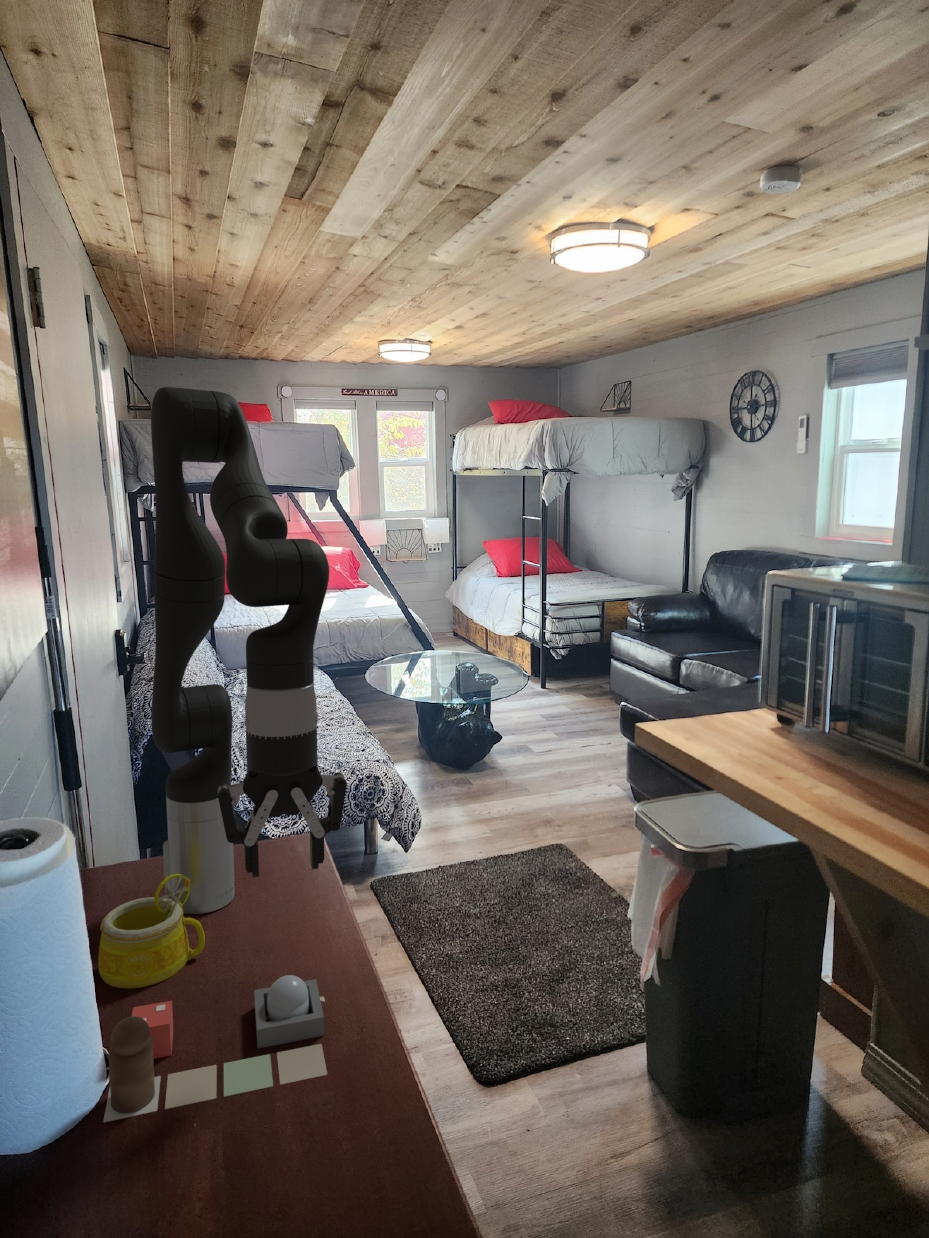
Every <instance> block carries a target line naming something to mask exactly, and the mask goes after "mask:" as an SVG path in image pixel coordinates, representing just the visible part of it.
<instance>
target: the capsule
mask: <svg viewBox="0 0 929 1238" xmlns="http://www.w3.org/2000/svg"><path fill="white" fill-rule="evenodd" d="M304 981H305V980H303V979H302V978H300V977H298V976H296V975H292V974H287V975H284V976H281V977H279V978H277V979H276V980H275V981H274V982H273V983H272V985H271V986H270V989H269V992H268V996H267V1010H268V1011H267V1022H269V1021H275V1020H280V1019H285V1018H291V1017H296V1016H302V1015H307V1014H310V1006H309V996H308V989H307V986H306V984H305V983H304Z"/></svg>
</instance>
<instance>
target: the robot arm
mask: <svg viewBox="0 0 929 1238" xmlns="http://www.w3.org/2000/svg"><path fill="white" fill-rule="evenodd" d="M150 411H151V412H150V429H151V430H150V431H151V433H150V434H151V435H150V436H151V448H152V464H153V465H152V467H153V479H154V497H155V499H154V500H155V531H154V533H155V534H154V535H155V538H154V539H155V540H154V542H155V544H154V562H153V563H154V564H153V565H154V566H153V567H154V571H153V582H154V583H153V586H154V588H153V591H154V593H153V595H154V596H153V597H154V623H155V624H154V625H155V628H154V629H155V655H154V669H153V681H152V682H153V683H152V684H153V685H152V695H151V713H150V720H151V721H150V723H151V735H152V739H153V742H154V744H155V746H156V748H157V749H158V750H159V751H160V752H162V753H166V754H168V753H171V754H172V753H179V752H185V751H186V752H187V751H188V752H189V751H193V750H200V749H201V750H200V752H198V754H197V755H196V756H194V758H192V759H191V760H190V761H188V762H186V763H185V764H183V765H180V766H179V767H177V768H176V769H174V770H173V771H171V772H170V773H169V774H168V776H167V777H166V779H165V796H166V797H165V799H166V801H165V802H166V818H167V820H166V821H167V837H168V838H167V840H165V841H164V843H163V844H162V853H163V855H162V856H163V873H164V874H163V875H164V880H165V879H166V878H167V877H168V876H170V875H172V874H181V875H183V876H185V877H186V878H187V879H190V893H189V896H188V898H187V900H186V902H185V903H184V905H183V906H182V909H183V914H187V915H188V914H189V915H198V914H199V915H200V914H207V913H211V912H214V911H217V910H219V909H223V908H224V907H226V906H227V905H229V904H230V903H231V902H232V901H233V899H234V898H235V894H236V893H235V863H234V862H235V861H234V859H235V857H234V843H240V844H242V845H243V846H244V865H245V866H244V869H245V870H246V872H247V874H250V873H251V875H252V878H259V877H260V868H259V867H260V865H259V864H260V863H259V857H260V856H259V842H258V838H259V835H260V833H261V831H262V829H264V827H265V824H266V822H267V820H268V818H271V819H272V818H278V817H281V816H283V815H287V816H298V815H300V813H301V815H302V817H303V819H304V820H305V823H306V824H307V826H308V827H309V829H310V831H309V852H310V853H309V859H310V861H309V862H310V866H311V870H318V869H319V868H320V865H319V864H323V863H324V860H325V836H326V835H327V834H328V833H329V832H332V831H334V832H335V831H336V832H337V831H338V830H340V828H341V827H342V826H341V825H342V820H343V819H342V818H343V812H344V804H345V799H346V793H347V786H348V783H347V781H346V779H345V776H344V774H343V773H342V772H340V771H339V772H335V773H334V774H333V775H332V774H322V773H321V771H320V770H319V766H318V765H319V764H318V720H319V719H318V718H319V715H318V712H317V711H318V710H317V697H316V692H315V675H314V674H315V669H314V645H315V644H314V643H315V638H316V635H317V629H318V625H319V620H320V615H321V612H322V608H323V605H324V602H325V598H326V594H327V591H328V585H329V582H330V581H329V580H330V564H329V562H328V558H327V555H326V553H325V551H324V549H323V548H322V546H321V545H320V544H319V543H317V541H314V540H313V539H309V538H287V537H288V533H289V532H288V523H287V520H286V517H285V515H284V512H283V511H282V509H281V507H280V505H279V504H278V502H277V501H276V498H275V497H274V495H273V493H272V492H271V489H270V488H269V486H268V485H267V482H266V480H265V478H264V476H263V473H262V470H261V466H260V462H259V459H258V455H257V452H256V448H255V444H254V441H253V438H252V435H251V431H250V429H249V425H248V422H247V419H246V416H245V414H244V411H243V408H242V407H241V405H240V403H239V402H238V401H237V399H236V398H235V397H233V396H232V395H231V394H229V393H226V392H222V391H217V390H206V389H195V388H194V389H193V388H184V387H174V386H173V387H172V386H163V387H160V388H158V389H157V391H155V393H154V396H153V399H152V404H151V410H150ZM183 462H184V463H186V462H188V463H209V464H219V463H224V465H223V466H222V468H221V469H220V470H219V472H218V473H217V475H216V476H215V478H214V480H213V482H212V484H211V488H210V492H209V502H210V503H209V504H210V508H211V513H212V516H213V517H214V520H215V521H216V523H217V525H218V527H219V530H220V532H221V535H222V537H223V539H224V544H225V551H226V560H225V556H224V553H223V551H222V549H221V547H220V544H219V543H218V542H217V540H216V538H215V537H214V535H213V534H212V532H211V531H210V529H209V527H208V526H207V525H206V524H205V522H204V520H203V519H202V518H201V516H200V514H199V512H198V511H197V509H196V508H195V507H196V506H195V505H194V503H193V501H192V499H191V498H190V495H189V492H188V489H187V486H186V483H185V482H186V481H185V477H184V470H183ZM225 586H227V589H228V591H229V593H230V595H231V596H232V598H233V599H235V601H237V602H238V603H240V604H242V605H243V606H245V607H250V608H263V607H280V606H287V609H286V612H285V614H284V616H283V617H282V618H281V620H279V621H277V622H276V623H272V624H271V625H270V624H269V625H267V626H264V627H260V628H259V629H256V630H254V631H252V632H250V634H249V635H248V636H247V637H246V641H245V642H246V643H245V660H246V662H245V664H246V695H245V706H244V707H245V708H244V711H245V712H244V713H245V714H244V717H245V719H244V724H245V746H246V748H245V749H246V751H245V752H246V773H245V776H244V779H243V781H242V782H238V783H232V771H233V770H232V767H233V766H232V764H233V763H232V760H233V759H232V745H233V744H232V743H233V741H232V740H233V709H232V708H233V707H232V701H231V698H230V695H229V693H228V691H227V689H226V688H225V687H224V686H223V685H221V684H215V683H214V684H212V683H211V684H203V685H193V686H186V687H184V686H183V687H182V685H183V680H184V676H185V672H186V670H187V667H188V664H189V663H190V661H191V658H192V656H193V654H194V653H195V652H196V650H197V648H199V645H201V643H202V642H203V641H204V639H205V638H206V636H207V635H208V634H209V632H210V631H211V629H212V628H213V626H214V624H215V623H216V622H217V620H218V618H219V616H220V614H221V613H222V610H223V608H224V605H225V604H224V603H225V595H226V592H225V591H226V590H225V589H226V588H225ZM322 786H323V787H325V791H326V794H327V795H328V796H329V801H328V808H327V816H325V817H323V818H321V819H320V817H319V814H318V813H317V811H316V810H315V807H314V805H313V803H312V800H313V799H314V797H315V795H316V794H317V793H318V791H319V790H320V788H321V787H322ZM243 794H244V795H245V796H246V797H247V798H248V799H249V800H250V801H251V802H252V803H253V804H254V805H253V807H252V810H251V812H250V816H249V819H248V821H247V823H246V824H245V825H246V826H245V827H244V826H239V825H238V822H237V818H236V812H235V806H237V805H238V804H239V802H240V796H241V795H243ZM176 880H177V877H174V878H172V879H170V880H169V881H168V884H169V886H170V888H171V890H172V892H174V893H176V894H175V896H176V897H177V898H178V896H179V894H180V893H177V892H175V889H176V886H177V884H176V886H175V888H174V885H175V883H176ZM178 881H179V880H178ZM184 881H185V880H184V879H183V878H182V879H181V881H180V883H179V885H178V887H177V889H176V891H177V890H179V889H181V888H183V886H184ZM177 883H178V882H177ZM173 888H174V890H173ZM178 892H179V891H178ZM170 893H171V892H170V891H169V890H168V889H167V887H166V886H165V885H164V895H167V894H169V895H171V894H170ZM185 894H186V891H184V892H183V894H182V895H181V897H180V899H179V901H180V902H181V901H182V900H183V898H184V896H185ZM169 895H167V896H169ZM172 896H173V895H171V896H169V897H170V899H171V898H172V900H173V901H175V899H174V897H175V896H174V897H172ZM169 897H167V898H168V899H169Z"/></svg>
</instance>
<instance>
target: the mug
mask: <svg viewBox="0 0 929 1238" xmlns="http://www.w3.org/2000/svg"><path fill="white" fill-rule="evenodd" d="M174 877H177V880H176V883H175V885H174V888H175V886H176V884H177V886H176V889H177V887H178V885H179V883H180V881H181V879H182V878H183V879H184V880H185V881H184V886H183V888H181V889H179V890H177V891H176V889H175V892H177V893H180V894H179V896H178V898H177V897H176V896H175V894H176V893H174V892H172V890H171V888H170V886H169V884H168V881H169V880H170V879H172V878H174ZM178 880H179V881H178ZM177 882H178V883H177ZM165 886H166V887H167V889H168V890H169V891H170V892H171V893H170V894H171V895H173V896H172V897H174V896H175V897H174V899H175V901H173V900H172V898H171V899H170V897H169V896H171V895H169V894H167V895H169V896H167V895H165V894H163V895H160V892H161V890H162V888H163V887H165ZM174 888H173V890H174ZM178 891H179V892H178ZM184 891H186V894H185V896H184V898H183V900H182V901H181V902H180V901H179V899H180V897H181V895H182V894H183V892H184ZM189 893H190V879H187V878H186V877H185V876H183V875H181V874H172V875H170V876H168V877H167V878H166V879H165V878H164V879H163V880H162V881H161V882H160V883H159V885H158V886H157V887H156V890H155V893H154V896H153V897H151V896H150V897H143V898H142V897H141V898H137V899H133V900H130V901H127V902H125V903H122V904H120V905H118V906H117V907H115V908H114V909H112V910H110V912H108V914H107V915H105V917H104V918H103V919H102V921H101V922H100V932H101V935H100V939H99V940H100V942H99V948H98V958H97V959H98V960H97V962H98V972H99V975H100V978H101V979H102V981H103V982H104V983H106V984H107V985H109V986H111V987H115V988H119V989H138V988H145V987H149V986H153V985H156V984H159V983H161V982H164V981H165V980H168V979H169V978H172V977H173V976H174V975H176V974H177V973H179V971H180V970H182V969H183V968H184V967H185V966H186V964H187V963H188V961H192V958H193V957H196V956H197V955H199V954H201V953H202V952H203V950H204V948H205V942H206V941H205V940H206V936H205V935H206V934H205V932H204V929H203V925H202V924H201V922H200V921H199V920H197V919H195V918H192V917H185V916H184V913H183V909H182V906H183V905H184V903H185V902H186V900H187V898H188V896H189ZM167 897H169V899H168V898H167ZM187 925H190V926H193V927H194V928H196V932H197V936H198V943H197V947H196V948H195V949H192V948H191V947H190V944H189V943H190V942H189V937H188V933H187V932H188V931H187V928H186V926H187Z"/></svg>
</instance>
